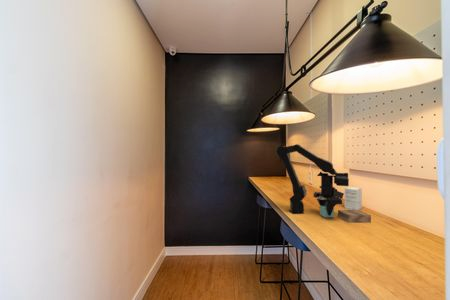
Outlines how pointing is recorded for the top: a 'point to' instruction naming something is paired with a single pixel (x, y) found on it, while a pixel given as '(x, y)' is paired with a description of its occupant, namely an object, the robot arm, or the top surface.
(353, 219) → the walnut block
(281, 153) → the robot arm
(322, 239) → the top surface
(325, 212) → the teal cube
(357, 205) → the supplement box
